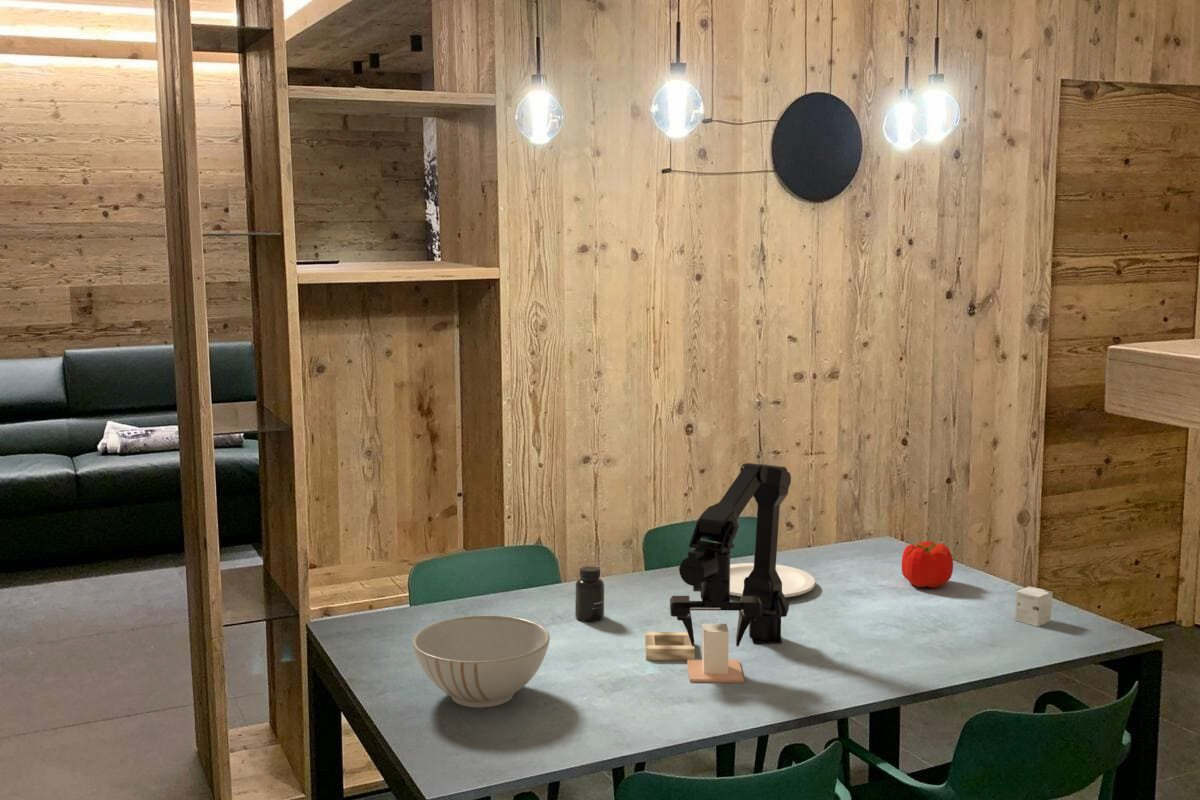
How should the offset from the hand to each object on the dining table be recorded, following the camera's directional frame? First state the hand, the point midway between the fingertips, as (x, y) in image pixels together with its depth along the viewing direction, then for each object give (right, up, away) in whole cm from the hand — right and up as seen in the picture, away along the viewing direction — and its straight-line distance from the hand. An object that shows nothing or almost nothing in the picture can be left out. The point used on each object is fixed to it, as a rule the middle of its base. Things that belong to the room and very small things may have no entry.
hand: (715, 645), depth 248 cm
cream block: (0, -5, +1) cm, 5 cm away
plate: (+17, +3, +59) cm, 61 cm away
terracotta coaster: (0, -6, +1) cm, 6 cm away
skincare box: (+78, -1, +32) cm, 84 cm away
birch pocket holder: (-9, -4, +13) cm, 16 cm away
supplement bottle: (-26, -1, +35) cm, 44 cm away
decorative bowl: (-47, -8, -11) cm, 49 cm away
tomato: (+60, +3, +60) cm, 85 cm away
